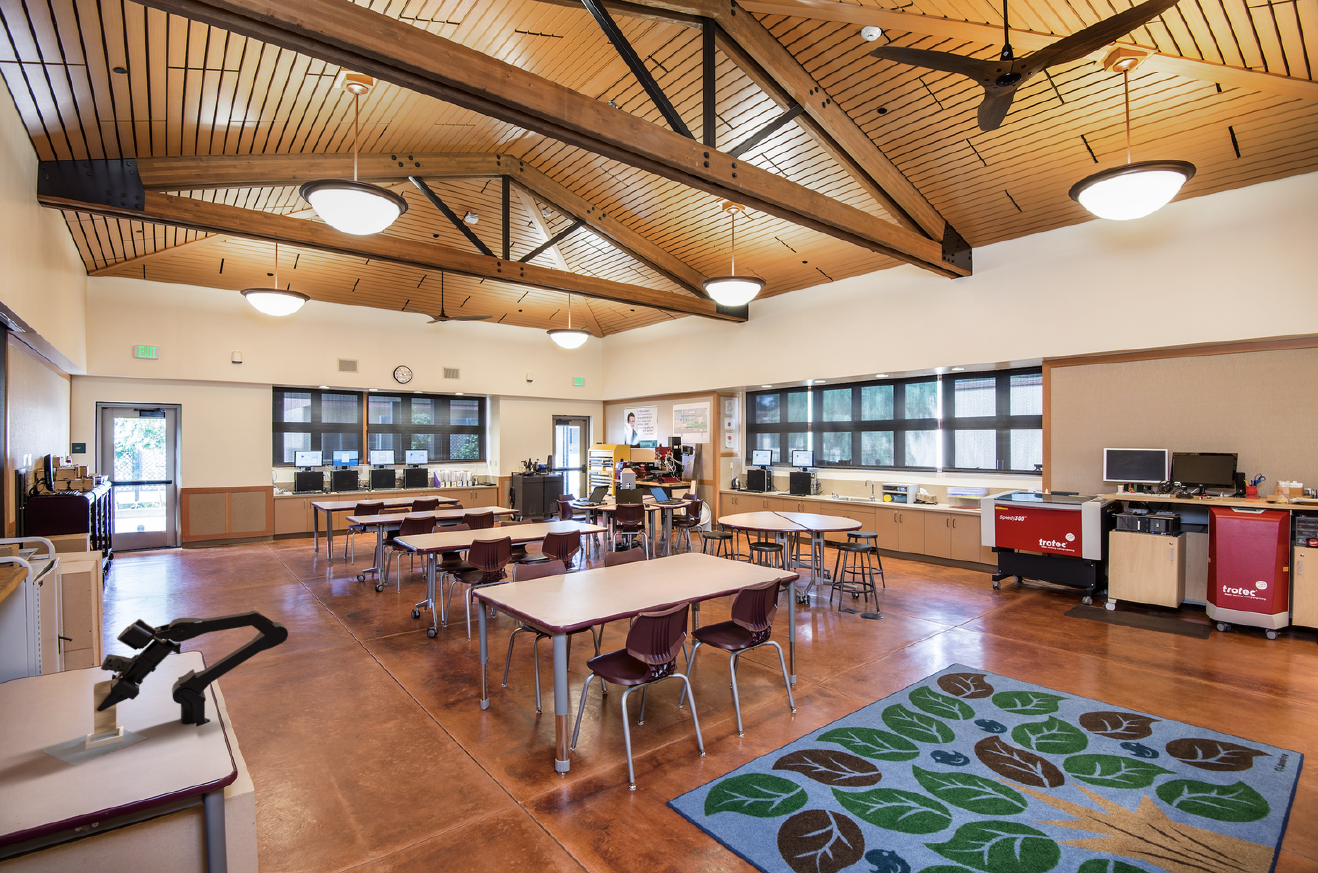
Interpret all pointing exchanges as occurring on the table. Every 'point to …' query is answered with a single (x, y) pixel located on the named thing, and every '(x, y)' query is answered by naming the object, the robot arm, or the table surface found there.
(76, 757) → the base board
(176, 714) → the table surface
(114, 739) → the socket frame
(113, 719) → the maple pillar
